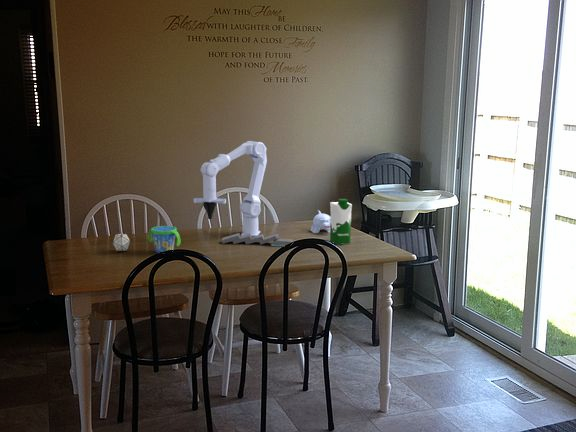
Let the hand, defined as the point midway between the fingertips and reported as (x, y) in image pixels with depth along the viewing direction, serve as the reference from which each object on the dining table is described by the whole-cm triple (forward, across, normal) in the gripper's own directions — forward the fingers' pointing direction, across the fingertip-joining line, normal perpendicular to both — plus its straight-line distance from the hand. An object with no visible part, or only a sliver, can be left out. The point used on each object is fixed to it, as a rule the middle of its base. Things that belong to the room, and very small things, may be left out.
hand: (210, 218), depth 284 cm
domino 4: (+9, +24, -4) cm, 26 cm away
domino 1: (+9, +6, -4) cm, 12 cm away
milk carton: (+10, +59, +4) cm, 60 cm away
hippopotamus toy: (+10, +50, +25) cm, 57 cm away
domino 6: (+8, +30, -5) cm, 32 cm away
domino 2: (+9, +12, -4) cm, 15 cm away
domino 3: (+9, +17, -4) cm, 20 cm away
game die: (+10, -32, -26) cm, 42 cm away
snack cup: (+10, -14, -24) cm, 30 cm away
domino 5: (+10, +29, -4) cm, 31 cm away
